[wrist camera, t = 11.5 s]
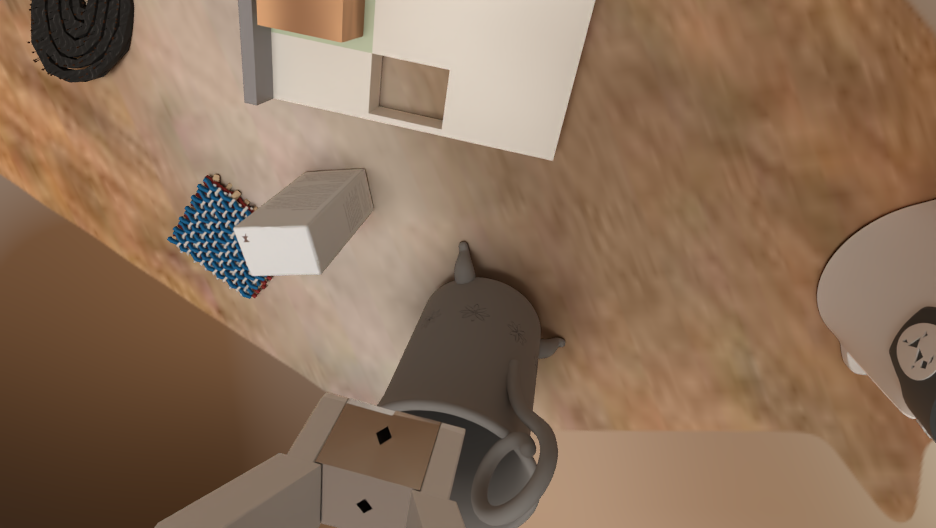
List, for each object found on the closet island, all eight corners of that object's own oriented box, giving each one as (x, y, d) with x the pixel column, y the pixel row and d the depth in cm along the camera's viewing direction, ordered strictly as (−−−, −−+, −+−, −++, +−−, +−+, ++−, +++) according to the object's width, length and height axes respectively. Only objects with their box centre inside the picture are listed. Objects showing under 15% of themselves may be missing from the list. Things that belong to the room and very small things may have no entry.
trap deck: (625, -121, 32) (632, -135, 28) (554, 151, 42) (551, 171, 37) (269, -185, 34) (224, -207, 30) (277, 89, 43) (244, 102, 39)
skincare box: (317, 213, 49) (248, 277, 39) (305, 170, 47) (229, 226, 36) (376, 211, 47) (321, 277, 37) (367, 167, 45) (306, 223, 35)
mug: (476, 395, 57) (415, 651, 35) (378, 308, 53) (245, 534, 32) (616, 310, 48) (647, 582, 27) (510, 199, 44) (448, 411, 23)
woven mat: (259, 296, 56) (249, 306, 54) (176, 234, 54) (163, 243, 52) (305, 237, 51) (295, 246, 49) (215, 166, 49) (202, 173, 47)
